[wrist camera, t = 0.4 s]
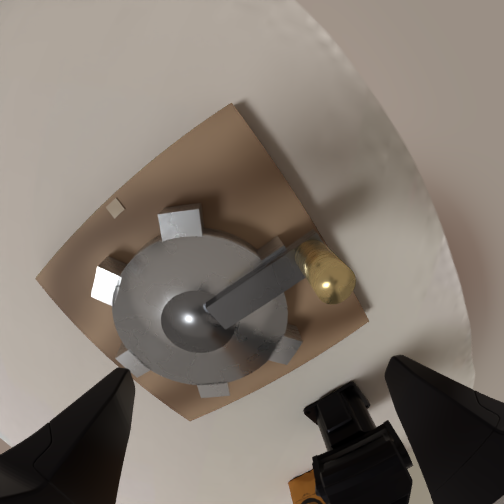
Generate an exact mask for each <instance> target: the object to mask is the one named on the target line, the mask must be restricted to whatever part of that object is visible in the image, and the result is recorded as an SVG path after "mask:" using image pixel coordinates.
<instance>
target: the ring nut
mask: <svg viewBox="0 0 504 504" xmlns="http://www.w3.org/2000/svg"><path fill="white" fill-rule="evenodd" d="M158 219H159V225H160V231H161V235H160V236H158V237H156V238H154V239H152V240H151V241H149V242H148V243H147V244H145V245H144V246H143V247H142V248H141V249H140V250H139V251H138V252H137V253H136V254H135V255H134V257H133V258H132V259H131V260H130V262H129V263H128V264H126V263H124V262H122V261H119V260H117V259H115V258H112V257H110V256H107V257H106V258H105V259H104V260H103V261H102V262H101V263H100V264H99V266H98V267H97V271H96V275H95V280H94V285H93V290H92V295H91V297H93V298H95V299H97V300H100V301H102V302H104V303H106V304H109V305H111V306H112V314H113V320H114V324H115V327H116V330H117V332H118V335H119V337H120V339H121V341H122V343H121V345H120V348H119V350H118V353H117V355H116V357H115V359H116V360H117V361H118V362H119V363H121V364H122V365H123V366H124V367H125V368H128V369H129V370H130V372H131V373H132V374H133V375H134V376H136V377H137V378H138V377H139V376H141V375H143V374H145V373H147V372H148V371H150V370H151V371H153V372H154V373H156V374H158V375H160V376H162V377H165V378H167V379H170V380H173V381H176V382H180V383H185V384H191V385H197V387H198V390H199V393H200V396H201V398H209V397H221V396H230V388H229V382H232V381H235V380H238V379H241V378H243V377H245V376H247V375H249V374H251V373H252V372H254V371H256V370H257V369H259V368H260V367H261V366H262V365H264V364H265V363H266V362H267V361H268V360H269V361H273V362H277V363H281V364H285V365H288V363H289V362H290V360H291V359H292V357H293V356H294V355H295V353H296V352H297V350H298V349H299V347H300V346H301V344H302V343H303V340H302V338H301V336H300V333H299V331H298V329H297V327H296V326H293V325H290V324H287V319H288V310H287V302H286V298H285V294H284V292H285V291H286V290H288V289H289V288H291V287H292V286H294V285H295V284H297V283H298V282H300V281H301V280H303V279H304V278H306V279H307V281H308V282H309V284H310V285H311V287H312V288H313V290H314V291H315V293H316V294H317V296H318V298H319V299H320V300H321V301H322V302H324V303H326V304H338V303H341V302H343V301H344V300H346V299H347V298H348V297H349V296H350V295H351V293H352V292H353V290H354V288H355V283H356V280H355V275H354V273H353V272H352V270H351V269H350V268H349V267H348V266H346V265H345V264H344V263H343V262H342V261H341V260H340V259H339V258H338V257H337V256H336V255H335V254H334V253H333V252H332V251H331V250H330V249H329V248H328V247H327V246H325V245H324V243H323V241H322V240H321V238H320V236H319V235H318V233H317V232H316V231H315V230H314V229H312V230H311V231H309V232H308V233H307V234H305V235H304V236H302V237H301V238H299V239H298V240H296V241H295V242H293V243H292V244H291V245H289V246H288V247H285V246H284V244H283V243H282V242H281V240H280V239H279V237H278V236H276V237H275V238H274V239H272V240H271V241H269V242H268V243H266V244H265V245H263V246H262V247H260V248H259V249H258V250H257V249H256V248H255V247H254V246H252V245H251V244H249V243H248V242H246V241H245V240H243V239H241V238H239V237H237V236H235V235H233V234H230V233H227V232H224V231H221V230H216V229H211V228H204V222H203V214H202V206H201V203H196V204H188V205H180V206H173V207H166V208H163V210H162V211H161V212H160V213H159V214H158Z"/></svg>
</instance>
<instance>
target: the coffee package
mask: <svg viewBox="0 0 504 504" xmlns="http://www.w3.org/2000/svg"><path fill="white" fill-rule="evenodd" d="M288 484H289V488H290V492H291V497H292V501H293V504H326V503H325V502H324V501H323V499H322V498H321V497H319V496H317V495H316V493H315V478H314V472H313V470H312V471H310V472H307V473H304V474H303V475H302V476H300V477H296V478H295V479H293V480H291V481H290V482H289V483H288Z"/></svg>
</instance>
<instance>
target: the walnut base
mask: <svg viewBox="0 0 504 504" xmlns="http://www.w3.org/2000/svg"><path fill="white" fill-rule="evenodd" d="M196 203H201V206H202V214H203V222H204V228H211V229H216V230H221V231H224V232H227V233H230V234H233V235H235V236H237V237H239V238H241V239H243V240H245V241H246V242H248V243H249V244H251V245H252V246H254V247H255V248H256V249H257V250H258V249H259V248H260V247H262V246H263V245H265V244H266V243H268V242H269V241H271V240H272V239H274V238H275V237H276V236H278V237H279V239H280V240H281V242H282V243H283V244H284V246H285V247H288V246H289V245H291V244H292V243H293V242H295V241H296V240H298V239H299V238H301V237H302V236H304V235H305V234H307V233H308V232H309V231H311V230H312V229H314V230H315V231H316V232H317V233H318V235H319V236H320V238H321V240H322V241H323V243H324V245H325V246H327V245H326V243H325V241H324V240H323V238H322V236H321V235H320V233H319V231H318V230H317V228H316V226H315V225H314V223H313V222H312V220H311V218H310V217H309V215H308V213H307V212H306V210H305V209H304V207H303V206H302V204H301V202H300V201H299V199H298V198H297V196H296V195H295V193H294V191H293V190H292V188H291V187H290V185H289V184H288V182H287V181H286V179H285V178H284V176H283V175H282V173H281V172H280V170H279V169H278V167H277V166H276V164H275V163H274V161H273V160H272V158H271V157H270V156H269V154H268V153H267V151H266V150H265V148H264V147H263V145H262V144H261V143H260V141H259V140H258V138H257V137H256V136H255V134H254V133H253V131H252V130H251V129H250V127H249V126H248V124H247V123H246V122H245V120H244V119H243V117H242V116H241V115H240V113H239V112H238V111H237V109H236V108H235V107H234V105H233V104H232V103H230V104H229V105H227V106H226V107H224V108H223V109H221V110H220V111H218V112H217V113H215V114H214V115H212V116H211V117H209V118H208V119H206V120H205V121H204V122H202V123H201V124H199V125H198V126H196V127H195V128H194V129H192V130H191V131H190V132H188V133H187V134H185V135H184V136H183V137H181V138H180V139H179V140H177V141H176V142H175V143H174V144H172V145H171V146H170V147H168V148H167V149H166V150H165V151H163V152H162V153H161V154H160V155H158V156H157V157H156V158H155V159H153V160H152V161H151V162H150V163H148V164H147V165H146V166H145V167H144V168H143V169H141V170H140V171H139V172H138V173H137V174H136V175H134V176H133V177H132V178H131V179H130V180H129V181H128V182H126V183H125V184H124V185H123V186H122V187H121V188H120V189H119V190H118V191H116V192H115V193H114V194H113V195H112V196H111V197H110V198H109V199H108V200H107V201H106V202H105V203H104V204H103V205H102V206H101V207H100V208H98V209H97V210H96V211H95V212H94V213H93V214H92V215H91V216H90V217H89V218H88V219H87V220H86V221H85V223H84V224H83V225H82V226H81V227H80V228H79V229H78V230H77V231H76V232H75V233H74V234H73V235H72V236H71V237H70V238H69V239H68V241H67V242H66V243H65V244H64V245H63V246H62V247H61V248H60V249H59V251H58V252H57V253H56V254H55V255H54V256H53V257H52V259H51V260H50V261H49V262H48V263H47V265H46V266H45V267H44V268H43V269H42V271H41V272H40V273H39V274H38V276H37V277H36V278H35V279H36V280H37V281H38V282H39V284H40V285H41V286H42V288H43V289H44V290H45V291H46V292H47V294H48V295H49V296H50V297H51V298H52V300H53V301H54V302H55V303H56V304H57V305H58V307H59V308H60V309H61V310H62V311H63V312H64V313H65V314H66V316H67V317H68V318H69V319H70V320H71V321H72V322H73V323H74V324H75V325H76V326H77V327H78V328H79V329H80V330H81V331H82V332H83V333H84V334H85V336H86V337H87V338H88V339H89V340H91V341H92V342H93V343H94V344H95V345H96V346H97V347H98V348H99V349H100V350H101V351H102V352H103V353H104V354H105V355H106V356H107V357H108V358H109V359H111V360H112V361H113V362H114V363H115V364H116V365H117V366H118V367H120V368H125V367H124V366H123V365H122V364H121V363H119V362H118V361H117V360H116V359H115V357H116V355H117V353H118V350H119V348H120V345H121V343H122V341H121V339H120V337H119V335H118V332H117V330H116V327H115V324H114V320H113V314H112V306H111V305H109V304H106V303H104V302H102V301H100V300H97V299H95V298H93V297H91V295H92V290H93V285H94V280H95V275H96V271H97V267H98V266H99V264H100V263H101V262H102V261H103V260H104V259H105V258H106V257H107V256H110V257H112V258H115V259H117V260H119V261H122V262H124V263H126V264H128V263H129V262H130V260H131V259H132V258H133V257H134V255H135V254H136V253H137V252H138V251H139V250H140V249H141V248H142V247H143V246H144V245H145V244H147V243H148V242H149V241H151V240H152V239H154V238H156V237H158V236H160V235H161V231H160V225H159V219H158V214H159V213H160V212H161V211H162V210H163V208H166V207H173V206H180V205H188V204H196ZM327 247H328V246H327ZM284 294H285V298H286V302H287V310H288V319H287V324H290V325H293V326H296V327H297V329H298V331H299V333H300V336H301V338H302V340H303V343H302V344H301V346H300V347H299V349H298V350H297V352H296V353H295V355H294V356H293V357H292V359H291V360H290V362H289V363H288V365H285V364H281V363H277V362H273V361H269V360H268V361H267V362H266V363H265V364H264V365H262V366H261V367H260V368H259V369H257V370H256V371H254V372H252V373H251V374H249V375H247V376H245V377H243V378H241V379H238V380H235V381H232V382H229V388H230V396H221V397H209V398H201V396H200V393H199V390H198V387H197V385H191V384H185V383H180V382H176V381H173V380H170V379H167V378H165V377H162V376H160V375H158V374H156V373H154V372H153V371H151V370H150V371H148V372H147V373H145V374H143V375H141V376H139V377H138V378H137V377H136V376H134V375H133V374H132V373H131V375H132V378H133V379H134V380H135V381H136V382H137V383H139V384H140V385H141V386H142V387H143V388H145V389H146V390H147V391H149V392H150V393H151V394H152V395H154V396H155V397H156V398H158V399H159V400H160V401H162V402H163V403H164V404H166V405H167V406H169V407H170V408H171V409H173V410H174V411H176V412H177V413H178V414H180V415H181V416H183V417H184V418H186V419H187V420H189V421H192V420H194V419H196V418H199V417H201V416H203V415H206V414H208V413H210V412H212V411H215V410H217V409H219V408H221V407H223V406H226V405H228V404H230V403H232V402H234V401H236V400H238V399H240V398H242V397H244V396H246V395H248V394H250V393H252V392H254V391H256V390H258V389H260V388H262V387H264V386H266V385H267V384H269V383H271V382H273V381H275V380H277V379H278V378H280V377H282V376H284V375H286V374H287V373H289V372H291V371H293V370H294V369H296V368H298V367H299V366H301V365H303V364H305V363H306V362H308V361H310V360H311V359H313V358H314V357H316V356H318V355H319V354H321V353H323V352H324V351H326V350H327V349H329V348H330V347H332V346H333V345H335V344H337V343H338V342H340V341H341V340H343V339H344V338H346V337H347V336H349V335H350V334H352V333H353V332H354V331H356V330H357V329H359V328H360V327H362V326H363V325H364V324H366V323H367V322H369V320H368V318H367V316H366V314H365V312H364V310H363V308H362V307H361V305H360V303H359V301H358V299H357V297H356V295H355V294H354V292H352V293H351V295H350V296H349V297H348V298H347V299H346V300H344V301H343V302H341V303H338V304H326V303H324V302H322V301H321V300H320V299H319V298H318V296H317V294H316V293H315V291H314V290H313V288H312V287H311V285H310V284H309V282H308V281H307V279H306V278H304V279H303V280H301V281H300V282H298V283H297V284H295V285H294V286H292V287H291V288H289V289H288V290H286V291H285V292H284Z"/></svg>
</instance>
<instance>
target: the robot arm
mask: <svg viewBox="0 0 504 504" xmlns="http://www.w3.org/2000/svg"><path fill="white" fill-rule="evenodd" d="M385 380H386V383H387V386H388V389H389V392H390V395H391V398H392V401H393V404H394V407H395V410H396V412H397V415H398V417H399V419H400V421H401V424H402V426H403V428H404V430H405V433H406V435H407V437H408V440H409V442H410V444H411V447H412V449H413V452H414V454H415V456H416V459H417V461H418V463H419V466H420V469H421V471H422V474H423V476H424V479H425V481H426V484H427V487H428V489H429V492H430V494H431V498H432V501H433V504H504V403H503V402H500V401H498V400H495V399H493V398H490V397H488V396H486V395H483V394H481V393H479V392H477V391H474V390H473V389H471V388H469V387H467V386H464V385H462V384H460V383H458V382H456V381H454V380H452V379H450V378H448V377H446V376H444V375H442V374H440V373H438V372H436V371H434V370H432V369H430V368H428V367H426V366H424V365H422V364H420V363H418V362H416V361H414V360H412V359H410V358H408V357H406V356H404V355H396V356H393V357H392V358H391V359H390V361H389V364H388V367H387V369H386V372H385ZM134 397H135V385H134V382H133V378H132V375H131V372H130V370H129V369H128V368H120V367H118V368H116V369H115V370H113V371H112V372H111V373H110V374H108V375H107V376H106V377H105V378H103V379H102V380H101V381H100V382H98V383H97V384H96V385H95V386H93V387H92V388H91V389H90V390H88V391H87V392H86V393H85V394H83V395H82V396H81V397H80V398H78V399H77V400H76V401H75V402H73V403H72V404H71V405H70V406H68V407H67V408H66V409H65V410H63V411H62V412H61V413H60V414H58V415H57V416H56V417H55V418H53V419H52V420H51V421H50V423H47V424H46V425H44V426H43V427H42V428H41V429H39V430H38V431H37V432H35V433H34V434H33V435H31V436H30V437H28V438H27V439H25V440H24V441H22V442H21V443H19V444H17V445H16V446H14V447H12V448H11V449H9V450H7V451H6V452H4V453H2V454H1V455H0V504H115V503H116V497H117V492H118V486H119V481H120V476H121V471H122V466H123V461H124V457H125V452H126V448H127V443H128V439H129V434H130V430H131V422H132V413H133V405H134ZM369 407H370V403H369V402H368V400H367V399H366V398H365V396H364V395H363V393H362V392H361V391H360V389H359V388H358V386H357V385H356V384H355V382H350V383H348V384H347V385H345V386H344V387H342V388H340V389H339V390H337V391H335V392H333V393H332V394H330V395H328V396H327V397H325V398H323V399H321V400H319V401H318V402H316V403H314V404H312V405H310V406H308V407H307V408H305V409H304V410H303V411H304V414H305V415H306V416H307V417H308V418H310V419H311V420H312V421H313V422H314V423H316V424H317V425H318V426H319V428H320V431H321V434H322V437H323V440H324V442H325V445H326V448H327V452H325V453H323V454H320V455H316V456H314V457H312V459H313V463H312V465H313V472H314V478H315V493H316V495H317V496H319V497H321V498H322V499H323V501H324V502H325V503H326V504H408V503H409V498H410V493H411V487H412V478H411V476H410V474H409V472H408V470H407V469H408V468H410V467H412V466H413V464H412V461H411V459H410V457H409V455H408V453H407V451H406V449H405V447H404V445H403V443H402V442H401V440H400V438H399V437H398V435H397V433H396V432H395V430H394V429H393V427H392V425H391V424H390V422H389V421H388V420H387V421H385V422H384V423H383V424H382V425H380V426H378V427H376V426H375V424H374V422H373V420H372V418H371V416H370V414H369V412H368V410H367V408H369Z"/></svg>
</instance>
